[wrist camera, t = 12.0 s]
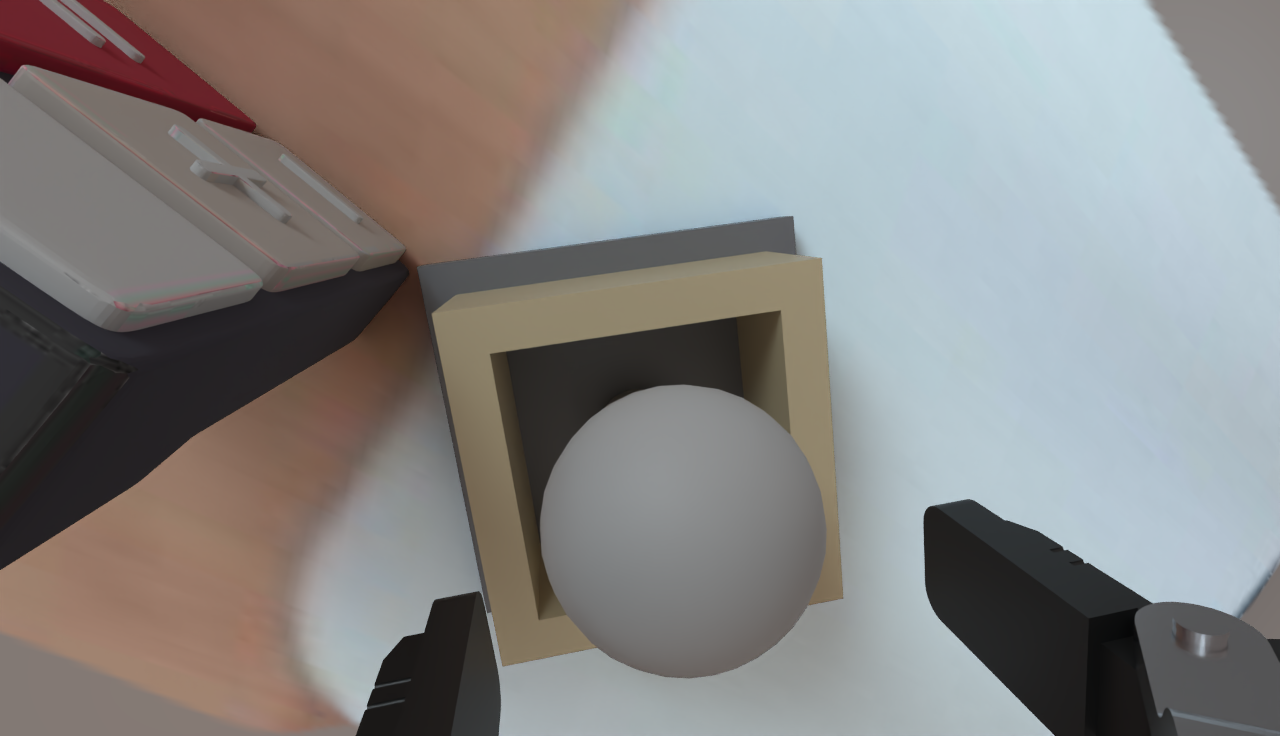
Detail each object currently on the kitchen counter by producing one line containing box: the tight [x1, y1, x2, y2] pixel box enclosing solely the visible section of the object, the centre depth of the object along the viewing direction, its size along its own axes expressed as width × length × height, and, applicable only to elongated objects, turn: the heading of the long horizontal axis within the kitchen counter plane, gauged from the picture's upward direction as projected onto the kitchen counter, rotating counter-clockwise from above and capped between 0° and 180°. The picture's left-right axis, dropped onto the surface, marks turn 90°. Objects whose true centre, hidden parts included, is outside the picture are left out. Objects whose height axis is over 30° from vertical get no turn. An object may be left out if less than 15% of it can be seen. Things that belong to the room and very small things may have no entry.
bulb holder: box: [417, 216, 843, 666], centre depth 20 cm, size 12×12×6 cm
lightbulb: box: [540, 385, 827, 678], centre depth 17 cm, size 6×6×11 cm
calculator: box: [0, 0, 409, 570], centre depth 13 cm, size 11×4×15 cm, turn 48°
